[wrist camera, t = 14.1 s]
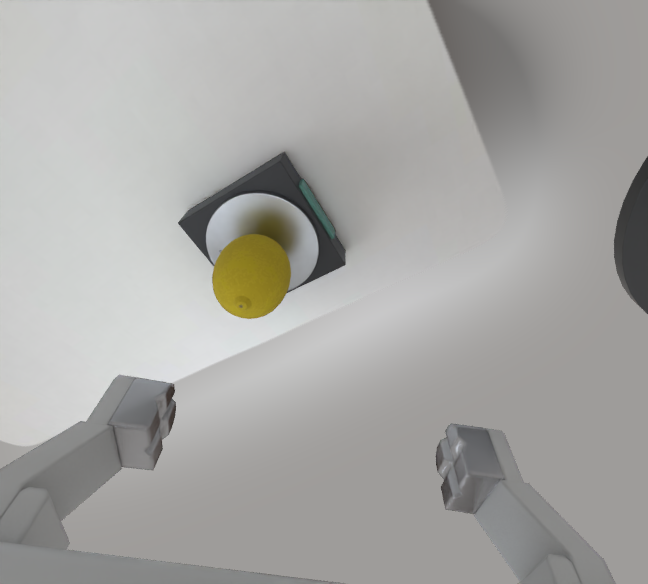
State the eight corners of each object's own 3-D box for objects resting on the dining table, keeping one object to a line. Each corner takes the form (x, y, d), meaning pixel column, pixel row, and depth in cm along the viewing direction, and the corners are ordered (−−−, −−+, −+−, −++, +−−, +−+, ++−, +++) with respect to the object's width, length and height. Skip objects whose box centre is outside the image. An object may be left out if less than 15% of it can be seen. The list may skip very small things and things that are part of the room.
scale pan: (278, 168, 29) (277, 170, 29) (339, 263, 34) (339, 266, 33) (184, 224, 32) (181, 227, 32) (251, 305, 36) (250, 309, 36)
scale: (287, 149, 31) (283, 158, 29) (348, 249, 36) (348, 263, 34) (188, 210, 34) (177, 222, 32) (255, 294, 39) (250, 310, 37)
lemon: (269, 205, 30) (248, 255, 24) (308, 260, 33) (300, 319, 26) (214, 238, 32) (180, 294, 25) (255, 288, 35) (234, 350, 28)
